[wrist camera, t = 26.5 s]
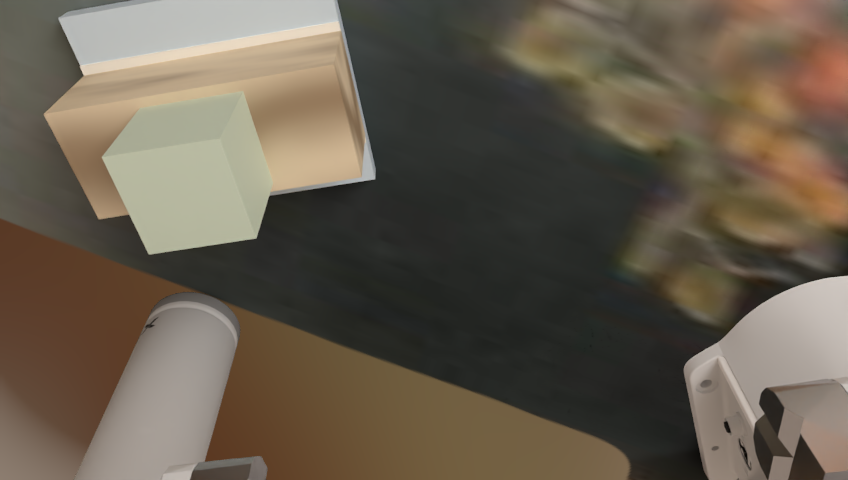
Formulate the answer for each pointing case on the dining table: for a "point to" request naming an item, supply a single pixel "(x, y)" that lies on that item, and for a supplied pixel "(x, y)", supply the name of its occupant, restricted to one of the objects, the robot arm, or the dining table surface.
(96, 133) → the oak brick
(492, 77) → the dining table surface
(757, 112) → the dining table surface
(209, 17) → the shallow white tray
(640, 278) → the dining table surface
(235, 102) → the sage cube
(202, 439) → the travel mug
